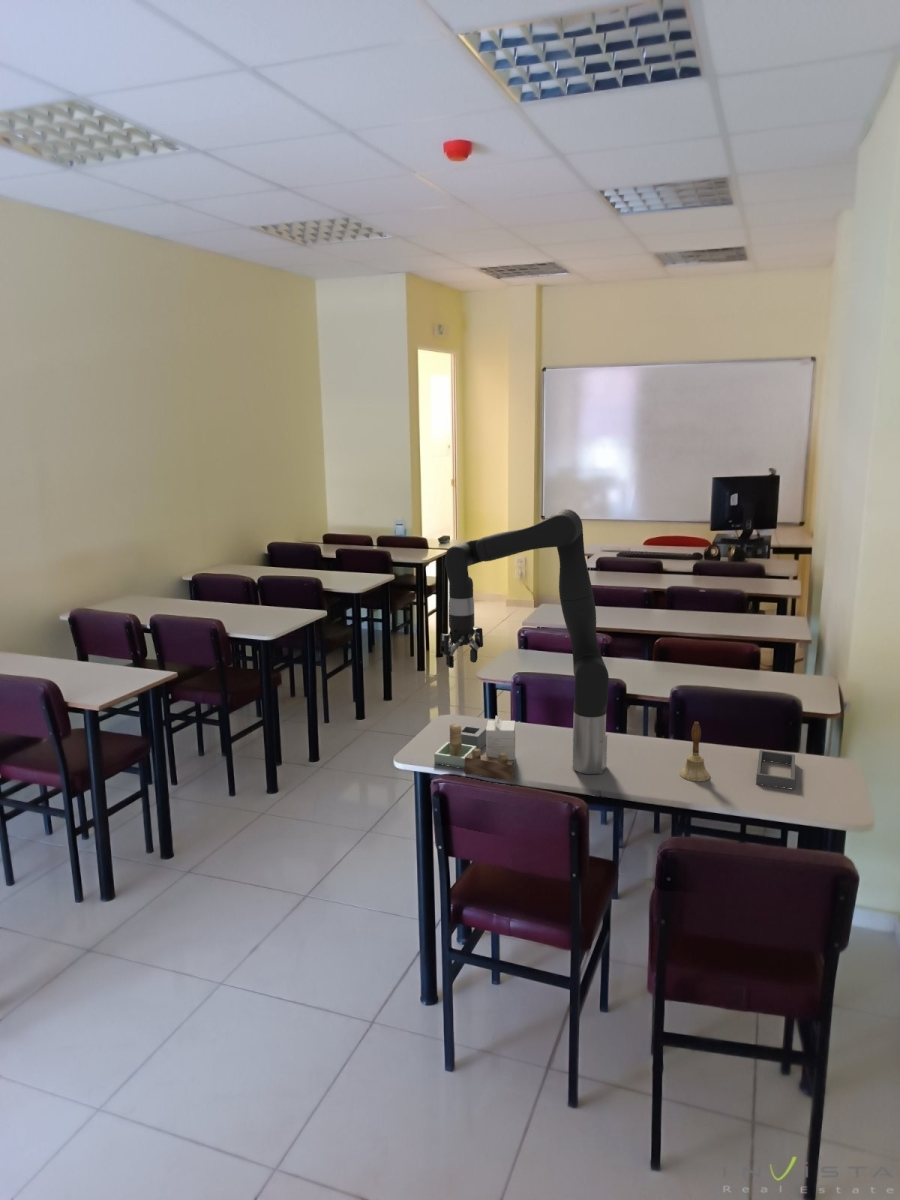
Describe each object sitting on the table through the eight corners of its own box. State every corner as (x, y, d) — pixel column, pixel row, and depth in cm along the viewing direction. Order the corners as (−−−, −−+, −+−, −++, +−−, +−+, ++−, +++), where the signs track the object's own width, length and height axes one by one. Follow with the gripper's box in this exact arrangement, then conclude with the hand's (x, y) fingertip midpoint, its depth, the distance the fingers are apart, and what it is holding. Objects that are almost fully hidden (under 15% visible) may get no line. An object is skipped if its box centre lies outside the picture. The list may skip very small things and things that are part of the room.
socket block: (487, 742, 251) (487, 727, 249) (478, 752, 243) (477, 736, 242) (463, 738, 254) (463, 724, 253) (453, 748, 246) (453, 733, 245)
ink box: (514, 768, 231) (514, 725, 228) (485, 767, 232) (485, 724, 229) (515, 756, 240) (515, 714, 237) (487, 755, 241) (487, 714, 238)
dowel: (463, 757, 237) (463, 726, 235) (455, 760, 235) (454, 729, 233) (456, 754, 240) (456, 723, 238) (447, 757, 238) (447, 725, 236)
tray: (476, 756, 240) (476, 746, 239) (464, 769, 232) (464, 758, 231) (447, 751, 244) (447, 741, 243) (434, 764, 235) (434, 753, 235)
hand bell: (689, 783, 220) (692, 729, 217) (673, 771, 228) (676, 718, 225) (716, 779, 222) (719, 725, 219) (699, 767, 230) (702, 715, 227)
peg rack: (514, 777, 226) (514, 754, 224) (511, 781, 223) (511, 758, 222) (468, 769, 231) (468, 746, 230) (464, 773, 229) (464, 750, 227)
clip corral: (794, 764, 231) (795, 754, 231) (793, 789, 215) (794, 779, 215) (758, 759, 235) (759, 749, 234) (755, 784, 219) (756, 774, 218)
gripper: (449, 617, 226) (450, 672, 230) (488, 610, 235) (488, 662, 238) (434, 613, 232) (435, 666, 236) (472, 605, 240) (473, 657, 244)
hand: (462, 664), depth 237 cm, fingers open, 8 cm apart
